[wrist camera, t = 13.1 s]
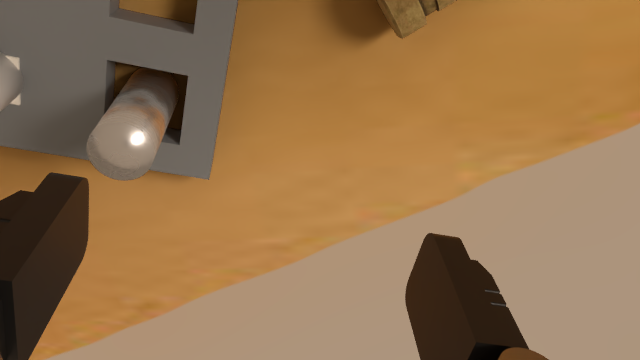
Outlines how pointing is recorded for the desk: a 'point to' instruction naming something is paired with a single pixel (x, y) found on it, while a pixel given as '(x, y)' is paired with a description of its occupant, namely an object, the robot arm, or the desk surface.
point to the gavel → (409, 13)
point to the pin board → (108, 74)
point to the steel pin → (134, 125)
